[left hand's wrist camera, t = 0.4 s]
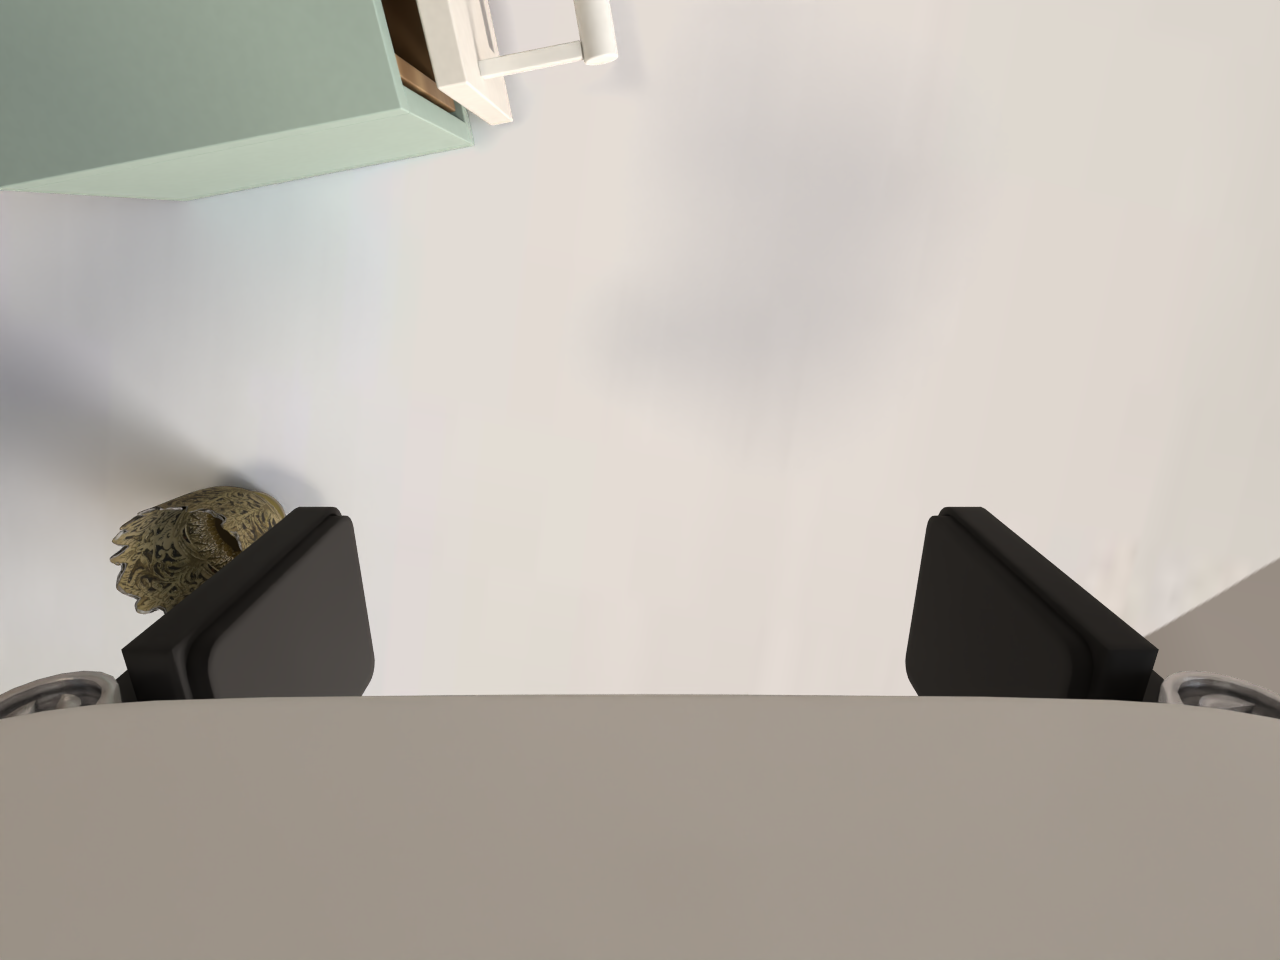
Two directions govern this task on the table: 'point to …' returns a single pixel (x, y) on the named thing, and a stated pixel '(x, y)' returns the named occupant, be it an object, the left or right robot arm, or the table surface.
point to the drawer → (481, 51)
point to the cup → (188, 542)
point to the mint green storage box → (203, 96)
